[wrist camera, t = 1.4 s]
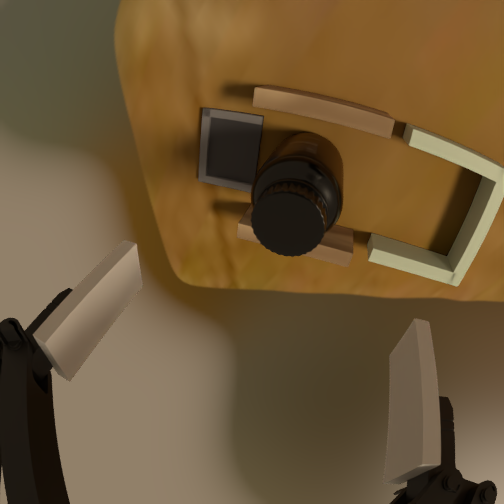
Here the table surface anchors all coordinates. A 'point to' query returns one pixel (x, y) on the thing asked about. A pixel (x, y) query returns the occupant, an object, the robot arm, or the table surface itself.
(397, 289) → the table surface
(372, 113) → the channel
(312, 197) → the supplement bottle
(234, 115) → the mat
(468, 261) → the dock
